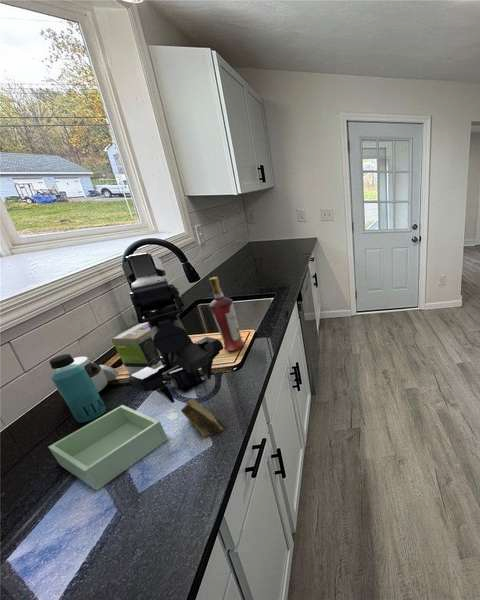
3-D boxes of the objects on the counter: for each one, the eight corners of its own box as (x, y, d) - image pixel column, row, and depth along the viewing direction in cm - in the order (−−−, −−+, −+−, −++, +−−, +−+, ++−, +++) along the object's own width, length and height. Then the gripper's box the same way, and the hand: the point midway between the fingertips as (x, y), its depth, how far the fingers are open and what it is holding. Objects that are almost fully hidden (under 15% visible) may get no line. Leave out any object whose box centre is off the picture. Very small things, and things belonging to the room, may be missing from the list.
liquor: (228, 344, 121) (207, 275, 111) (248, 342, 122) (228, 273, 111) (221, 354, 115) (197, 282, 104) (241, 352, 115) (219, 280, 104)
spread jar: (62, 407, 92) (42, 375, 87) (78, 386, 101) (60, 356, 97) (114, 393, 97) (97, 361, 92) (123, 374, 106) (109, 345, 102)
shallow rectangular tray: (131, 421, 85) (122, 404, 83) (168, 439, 78) (159, 421, 76) (60, 465, 73) (47, 446, 70) (96, 490, 66) (84, 471, 64)
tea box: (164, 351, 119) (150, 316, 113) (187, 352, 118) (174, 317, 112) (127, 375, 105) (109, 337, 100) (153, 376, 104) (136, 338, 98)
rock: (174, 415, 82) (167, 437, 74) (189, 386, 83) (184, 404, 74) (218, 424, 88) (216, 445, 79) (232, 396, 88) (231, 414, 79)
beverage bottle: (90, 428, 83) (54, 365, 75) (71, 426, 85) (33, 363, 77) (115, 411, 89) (83, 351, 81) (97, 409, 90) (64, 349, 83)
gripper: (145, 364, 60) (173, 426, 66) (229, 322, 76) (245, 375, 82) (114, 353, 65) (143, 412, 71) (199, 316, 80) (217, 367, 86)
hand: (191, 390), depth 77 cm, fingers open, 9 cm apart
